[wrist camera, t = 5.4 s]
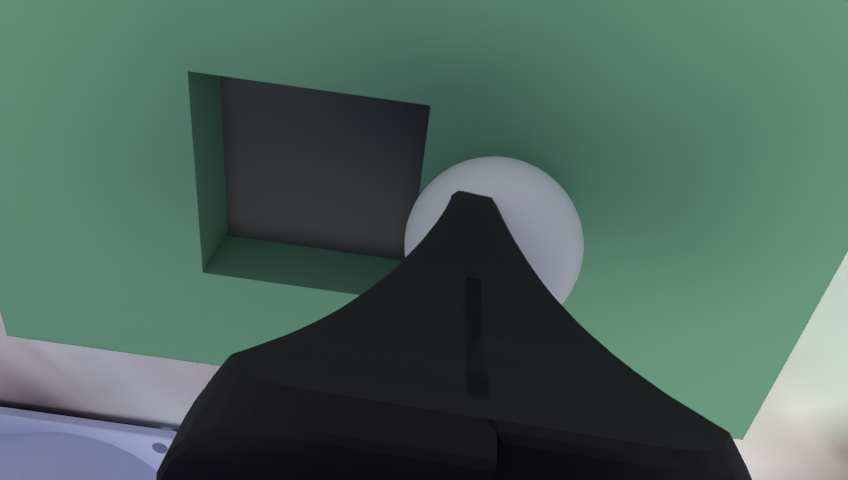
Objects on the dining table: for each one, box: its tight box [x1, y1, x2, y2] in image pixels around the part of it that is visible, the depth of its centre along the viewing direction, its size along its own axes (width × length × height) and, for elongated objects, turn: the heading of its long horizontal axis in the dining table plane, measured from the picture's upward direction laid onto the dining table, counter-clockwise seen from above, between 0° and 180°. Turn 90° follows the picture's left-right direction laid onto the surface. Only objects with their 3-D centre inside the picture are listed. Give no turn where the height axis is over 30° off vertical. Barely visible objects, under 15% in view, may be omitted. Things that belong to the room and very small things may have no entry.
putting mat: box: [0, 0, 848, 440], centre depth 15 cm, size 20×11×2 cm, turn 83°
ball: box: [404, 156, 584, 305], centre depth 12 cm, size 4×4×4 cm
